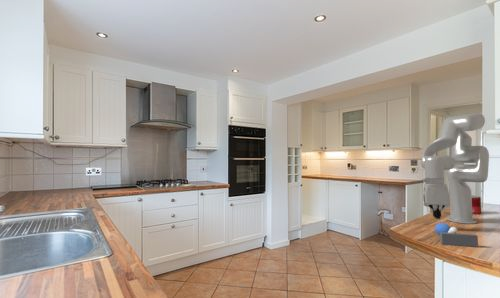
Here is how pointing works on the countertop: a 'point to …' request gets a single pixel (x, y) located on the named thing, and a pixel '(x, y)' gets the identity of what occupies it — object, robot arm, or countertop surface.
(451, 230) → the pin
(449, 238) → the block
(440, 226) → the ball
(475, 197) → the canned food
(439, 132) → the robot arm
